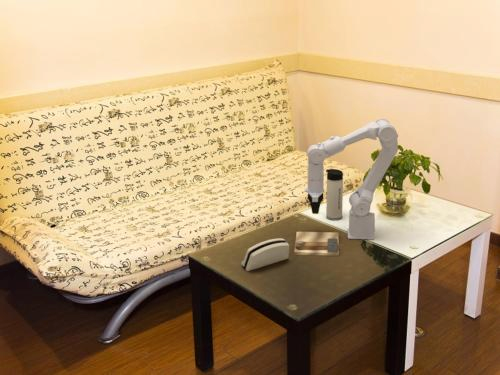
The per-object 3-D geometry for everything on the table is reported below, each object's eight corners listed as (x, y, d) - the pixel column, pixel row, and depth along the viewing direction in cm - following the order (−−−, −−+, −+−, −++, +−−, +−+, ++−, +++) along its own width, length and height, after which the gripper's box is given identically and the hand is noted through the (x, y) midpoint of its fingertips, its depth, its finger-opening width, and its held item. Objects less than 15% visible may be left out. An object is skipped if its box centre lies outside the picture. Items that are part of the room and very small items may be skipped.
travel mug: (325, 214, 238) (326, 167, 231) (342, 214, 237) (343, 167, 230) (325, 220, 232) (325, 172, 225) (342, 220, 232) (343, 172, 225)
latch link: (295, 249, 207) (295, 244, 206) (295, 245, 210) (295, 239, 209) (339, 250, 205) (339, 244, 204) (338, 245, 208) (338, 240, 208)
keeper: (337, 246, 208) (337, 238, 207) (337, 252, 204) (337, 244, 203) (327, 246, 209) (327, 238, 207) (327, 252, 204) (327, 244, 203)
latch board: (338, 234, 219) (338, 232, 219) (339, 255, 204) (339, 253, 203) (296, 234, 221) (296, 231, 221) (294, 254, 206) (294, 252, 205)
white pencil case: (280, 252, 207) (285, 231, 201) (287, 261, 204) (293, 240, 198) (239, 265, 200) (243, 244, 194) (246, 274, 197) (250, 253, 190)
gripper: (305, 171, 218) (305, 205, 223) (303, 185, 205) (303, 220, 210) (324, 171, 217) (323, 205, 222) (324, 185, 204) (323, 221, 209)
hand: (315, 213), depth 216 cm, fingers closed
